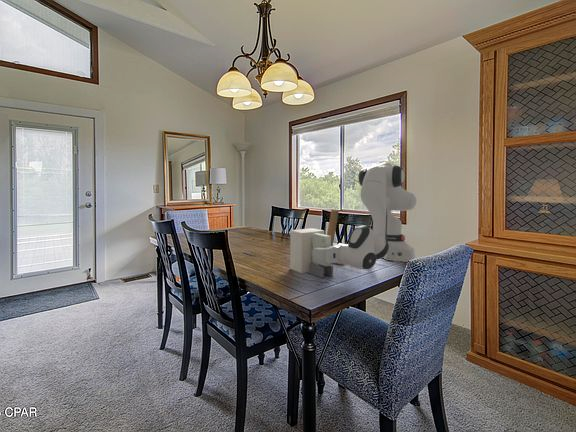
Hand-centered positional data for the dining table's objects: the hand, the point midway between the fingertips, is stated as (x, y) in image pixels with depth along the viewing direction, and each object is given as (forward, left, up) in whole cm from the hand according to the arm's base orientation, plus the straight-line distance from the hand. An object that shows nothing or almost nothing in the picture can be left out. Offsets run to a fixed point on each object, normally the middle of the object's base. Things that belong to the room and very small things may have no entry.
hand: (322, 248), depth 148 cm
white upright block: (+1, 0, -8) cm, 8 cm away
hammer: (+8, -28, -13) cm, 32 cm away
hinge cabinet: (+6, -3, -13) cm, 15 cm away
